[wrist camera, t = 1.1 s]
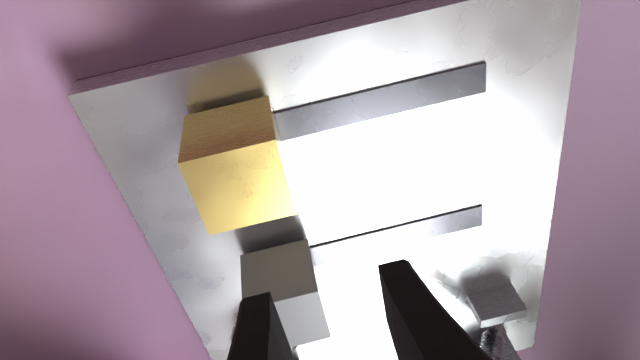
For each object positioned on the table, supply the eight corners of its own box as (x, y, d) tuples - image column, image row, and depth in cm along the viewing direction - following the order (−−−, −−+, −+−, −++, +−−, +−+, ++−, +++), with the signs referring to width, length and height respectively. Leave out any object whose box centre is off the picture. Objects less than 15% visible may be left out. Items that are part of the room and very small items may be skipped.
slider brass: (211, 183, 19) (209, 235, 16) (184, 115, 17) (177, 163, 15) (287, 164, 19) (296, 214, 16) (268, 95, 17) (275, 139, 15)
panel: (244, 400, 30) (246, 449, 28) (75, 81, 17) (51, 122, 15) (523, 330, 31) (549, 373, 28) (566, -36, 18) (620, -14, 15)
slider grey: (257, 299, 23) (261, 354, 20) (240, 255, 21) (242, 310, 19) (320, 284, 23) (331, 337, 21) (307, 238, 21) (318, 291, 19)
